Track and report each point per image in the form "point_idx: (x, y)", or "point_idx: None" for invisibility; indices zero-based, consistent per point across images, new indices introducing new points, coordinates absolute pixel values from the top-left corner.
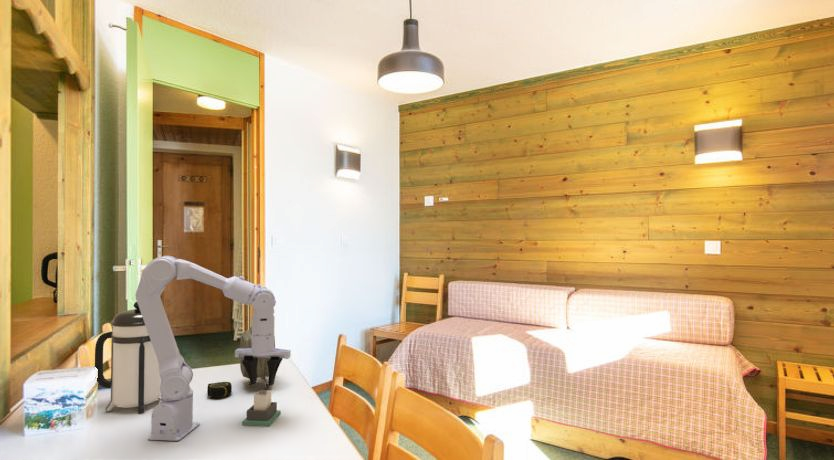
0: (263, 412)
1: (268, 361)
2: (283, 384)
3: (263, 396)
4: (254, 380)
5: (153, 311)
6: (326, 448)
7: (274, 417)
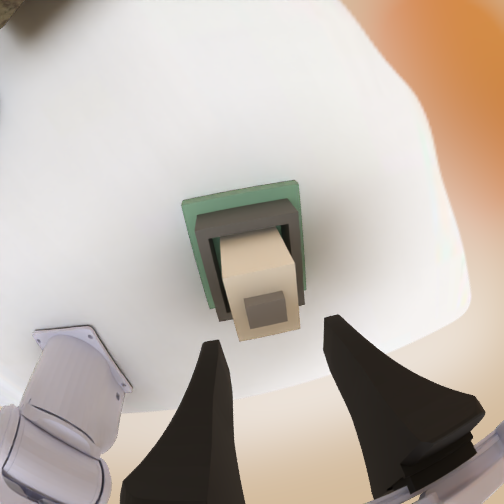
0: None
1: (383, 495)
2: None
3: (288, 329)
4: (226, 377)
5: None
6: (443, 317)
7: (303, 247)
